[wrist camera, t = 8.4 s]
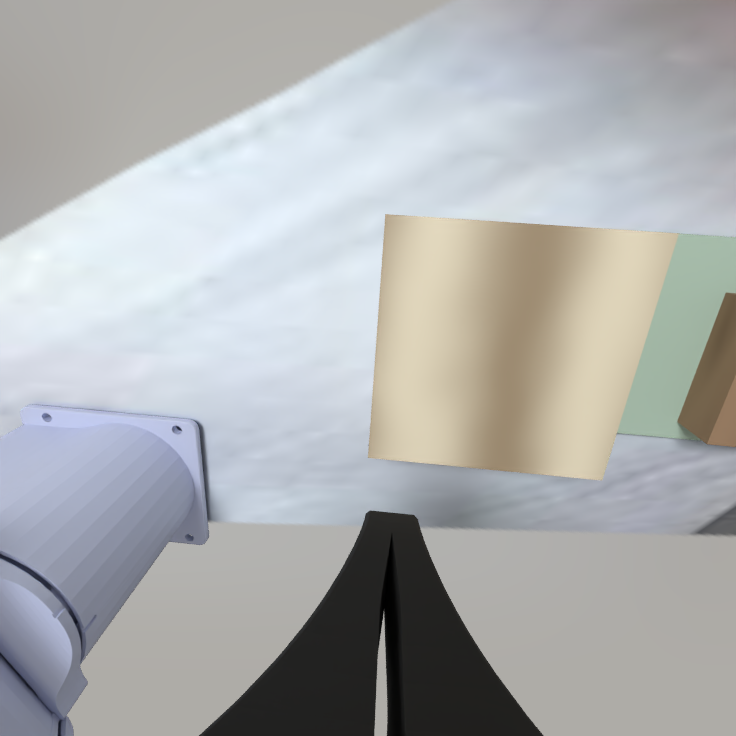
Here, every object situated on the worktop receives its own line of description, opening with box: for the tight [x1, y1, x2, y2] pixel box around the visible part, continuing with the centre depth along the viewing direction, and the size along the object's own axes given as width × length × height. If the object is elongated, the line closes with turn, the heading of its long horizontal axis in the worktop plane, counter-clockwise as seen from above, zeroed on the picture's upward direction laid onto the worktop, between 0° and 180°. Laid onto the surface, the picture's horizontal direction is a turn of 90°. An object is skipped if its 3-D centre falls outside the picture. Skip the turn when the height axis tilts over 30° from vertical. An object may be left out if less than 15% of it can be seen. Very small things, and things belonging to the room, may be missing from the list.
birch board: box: [368, 214, 679, 480], centre depth 17 cm, size 10×10×3 cm
